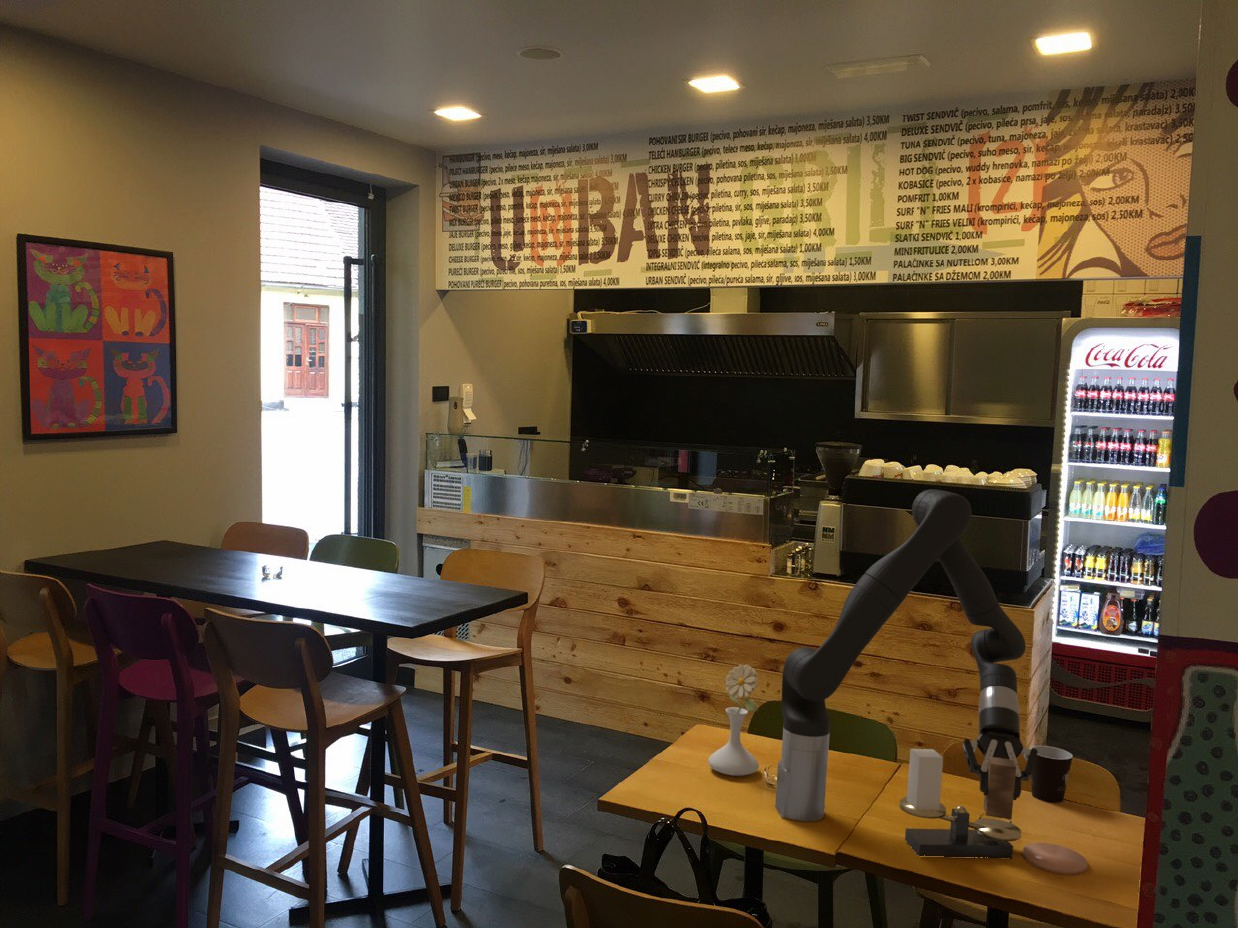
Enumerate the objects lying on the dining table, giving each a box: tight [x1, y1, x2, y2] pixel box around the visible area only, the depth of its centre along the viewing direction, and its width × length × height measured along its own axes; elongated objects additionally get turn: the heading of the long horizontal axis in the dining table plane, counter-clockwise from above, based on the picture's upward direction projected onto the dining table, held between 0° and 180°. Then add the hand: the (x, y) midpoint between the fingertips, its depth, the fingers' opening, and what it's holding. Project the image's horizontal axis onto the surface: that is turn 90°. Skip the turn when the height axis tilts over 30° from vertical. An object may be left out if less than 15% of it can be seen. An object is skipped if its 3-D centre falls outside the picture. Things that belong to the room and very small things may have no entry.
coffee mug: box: [1029, 745, 1074, 804], centre depth 220 cm, size 12×9×10 cm
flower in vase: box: [707, 664, 760, 777], centre depth 223 cm, size 13×11×25 cm
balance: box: [899, 796, 1022, 860], centre depth 189 cm, size 23×8×8 cm, turn 95°
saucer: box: [1022, 842, 1088, 876], centre depth 187 cm, size 11×11×1 cm
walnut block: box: [983, 757, 1016, 820], centre depth 190 cm, size 4×4×10 cm
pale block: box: [906, 748, 944, 810], centre depth 188 cm, size 4×4×10 cm
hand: (1000, 795), depth 188 cm, fingers closed on walnut block, 4 cm apart
